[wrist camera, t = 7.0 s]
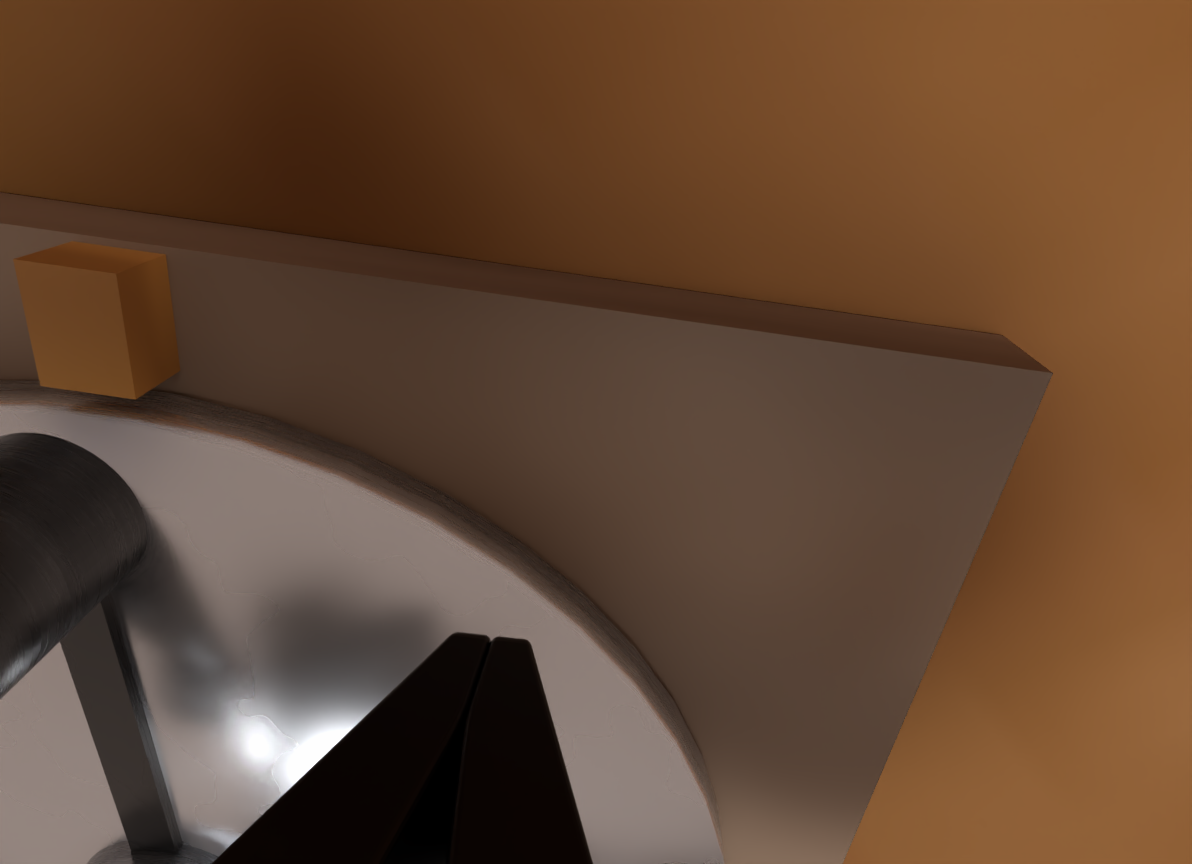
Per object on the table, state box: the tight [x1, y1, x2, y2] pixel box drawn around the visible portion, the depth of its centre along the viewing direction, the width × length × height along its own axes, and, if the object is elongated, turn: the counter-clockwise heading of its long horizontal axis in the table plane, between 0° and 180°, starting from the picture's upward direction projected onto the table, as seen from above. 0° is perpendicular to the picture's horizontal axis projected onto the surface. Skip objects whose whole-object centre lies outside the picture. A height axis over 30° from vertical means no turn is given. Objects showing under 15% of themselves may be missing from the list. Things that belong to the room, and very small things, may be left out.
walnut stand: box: [0, 192, 1053, 864], centre depth 15 cm, size 24×24×2 cm
